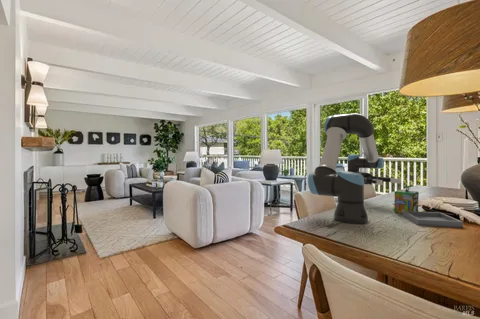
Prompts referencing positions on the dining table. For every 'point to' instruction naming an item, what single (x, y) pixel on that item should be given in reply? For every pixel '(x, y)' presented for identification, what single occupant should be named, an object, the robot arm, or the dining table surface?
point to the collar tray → (432, 219)
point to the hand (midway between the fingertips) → (391, 182)
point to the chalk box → (406, 200)
